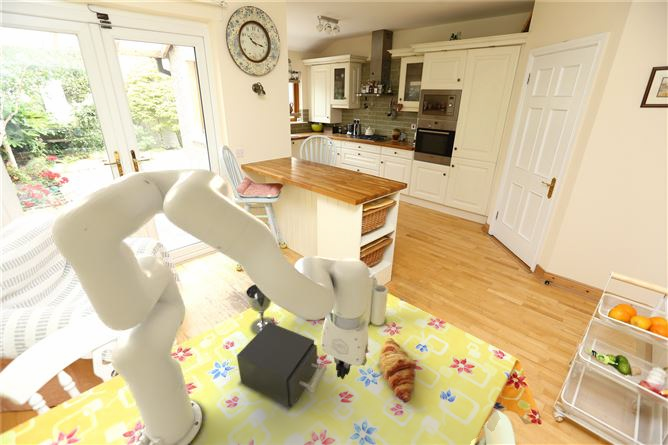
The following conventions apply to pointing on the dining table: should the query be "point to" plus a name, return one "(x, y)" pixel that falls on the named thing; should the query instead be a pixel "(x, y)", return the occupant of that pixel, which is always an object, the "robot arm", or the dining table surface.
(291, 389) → the drawer
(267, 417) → the dining table surface
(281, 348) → the cabinet
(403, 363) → the croissant
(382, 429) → the dining table surface
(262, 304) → the wine glass
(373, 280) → the vase
